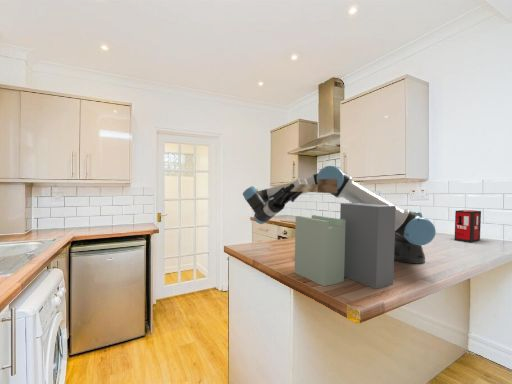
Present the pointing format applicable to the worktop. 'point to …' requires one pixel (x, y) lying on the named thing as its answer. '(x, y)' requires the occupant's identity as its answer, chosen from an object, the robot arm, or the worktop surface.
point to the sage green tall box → (320, 249)
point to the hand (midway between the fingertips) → (302, 181)
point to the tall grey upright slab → (369, 243)
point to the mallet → (319, 186)
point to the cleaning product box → (467, 225)
